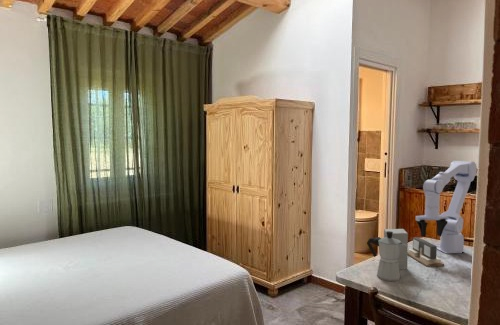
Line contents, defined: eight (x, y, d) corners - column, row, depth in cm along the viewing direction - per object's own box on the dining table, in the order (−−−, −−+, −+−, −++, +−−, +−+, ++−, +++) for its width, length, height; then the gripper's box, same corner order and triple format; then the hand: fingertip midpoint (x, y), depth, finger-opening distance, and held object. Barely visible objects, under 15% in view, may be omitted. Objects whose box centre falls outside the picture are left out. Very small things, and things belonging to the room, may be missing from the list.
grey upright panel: (436, 259, 158) (436, 246, 158) (430, 259, 158) (430, 246, 158) (417, 248, 172) (418, 237, 172) (412, 249, 172) (412, 237, 171)
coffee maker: (407, 276, 146) (409, 231, 144) (403, 284, 138) (404, 236, 137) (369, 269, 154) (370, 226, 152) (363, 276, 147) (364, 231, 145)
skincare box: (402, 264, 159) (403, 228, 158) (408, 270, 152) (409, 232, 151) (382, 264, 160) (383, 227, 158) (386, 270, 153) (387, 232, 151)
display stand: (421, 252, 174) (421, 242, 174) (444, 265, 157) (444, 253, 157) (404, 253, 173) (405, 242, 173) (426, 266, 156) (426, 254, 156)
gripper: (422, 208, 163) (421, 239, 164) (453, 207, 165) (451, 237, 166) (413, 205, 170) (412, 234, 171) (442, 204, 171) (441, 233, 173)
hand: (431, 236), depth 169 cm, fingers open, 7 cm apart
